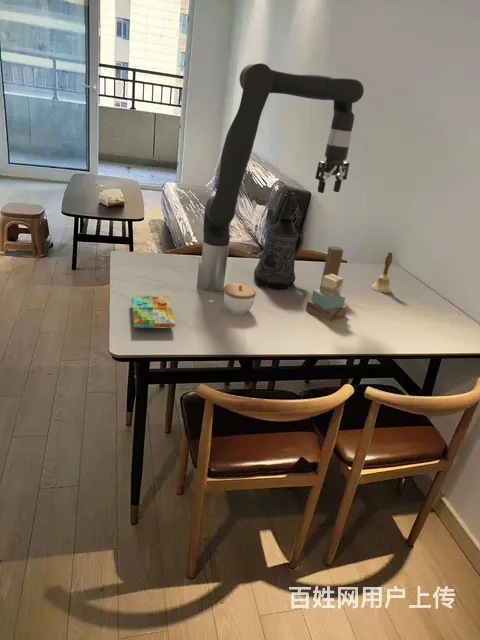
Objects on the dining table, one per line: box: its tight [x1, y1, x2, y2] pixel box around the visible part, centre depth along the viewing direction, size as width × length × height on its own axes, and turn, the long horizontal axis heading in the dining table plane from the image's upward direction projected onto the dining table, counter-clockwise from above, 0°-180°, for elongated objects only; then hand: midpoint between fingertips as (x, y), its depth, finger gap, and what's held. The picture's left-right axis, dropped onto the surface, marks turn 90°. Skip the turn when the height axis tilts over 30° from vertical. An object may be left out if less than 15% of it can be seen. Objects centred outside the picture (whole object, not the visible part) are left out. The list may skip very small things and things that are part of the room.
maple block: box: [319, 274, 345, 297], centre depth 164 cm, size 5×5×6 cm
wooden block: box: [319, 245, 344, 289], centre depth 181 cm, size 9×4×18 cm, turn 9°
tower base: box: [305, 299, 348, 322], centre depth 168 cm, size 10×10×4 cm
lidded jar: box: [223, 282, 257, 315], centre depth 159 cm, size 11×11×9 cm
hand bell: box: [370, 251, 393, 294], centre depth 194 cm, size 8×8×16 cm
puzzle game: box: [131, 294, 176, 328], centre depth 146 cm, size 12×5×20 cm
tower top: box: [310, 288, 346, 310], centre depth 166 cm, size 8×8×4 cm
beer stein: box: [253, 218, 304, 291], centre depth 185 cm, size 16×19×25 cm
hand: (328, 192), depth 169 cm, fingers open, 8 cm apart
